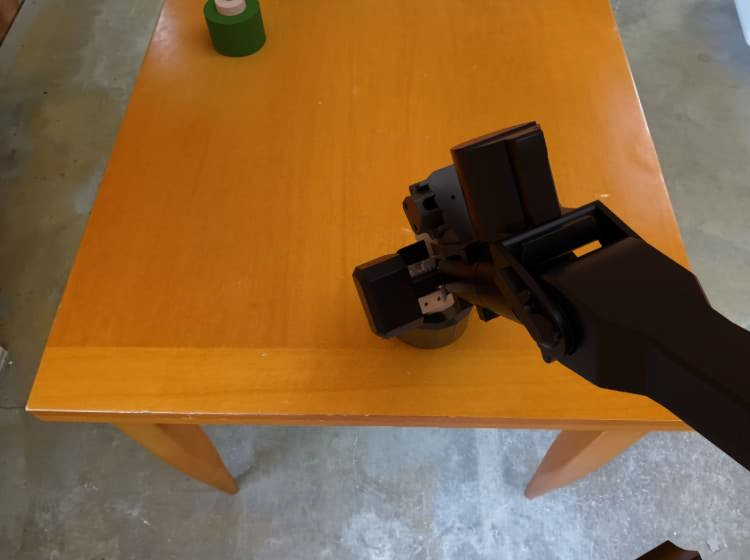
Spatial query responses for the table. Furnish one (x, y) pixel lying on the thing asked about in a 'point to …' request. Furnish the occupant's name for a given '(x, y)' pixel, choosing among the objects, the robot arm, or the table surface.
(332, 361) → the table surface
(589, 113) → the table surface
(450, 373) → the table surface
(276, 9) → the table surface
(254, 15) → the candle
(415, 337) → the holder
